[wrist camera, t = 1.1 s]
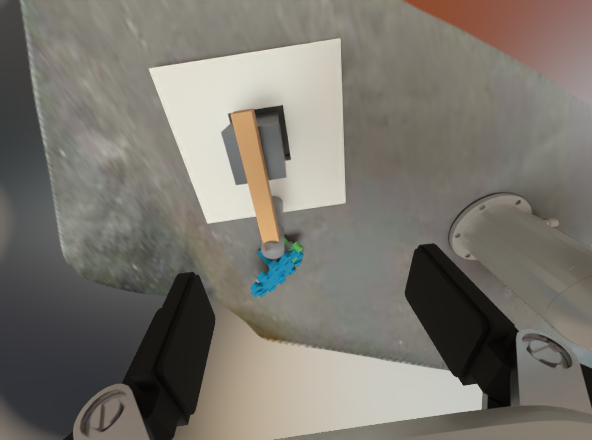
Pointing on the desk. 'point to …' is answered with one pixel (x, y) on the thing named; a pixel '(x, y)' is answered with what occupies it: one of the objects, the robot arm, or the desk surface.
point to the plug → (270, 146)
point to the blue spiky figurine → (278, 268)
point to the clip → (258, 182)
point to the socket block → (260, 94)
